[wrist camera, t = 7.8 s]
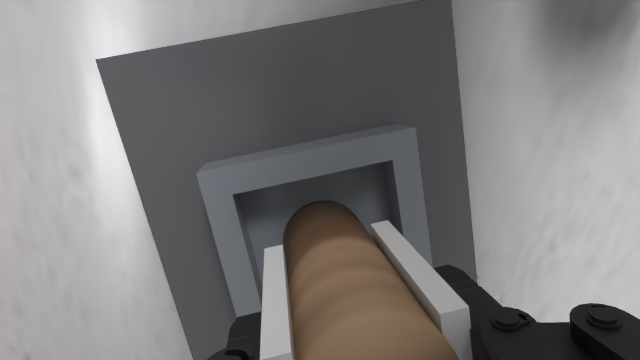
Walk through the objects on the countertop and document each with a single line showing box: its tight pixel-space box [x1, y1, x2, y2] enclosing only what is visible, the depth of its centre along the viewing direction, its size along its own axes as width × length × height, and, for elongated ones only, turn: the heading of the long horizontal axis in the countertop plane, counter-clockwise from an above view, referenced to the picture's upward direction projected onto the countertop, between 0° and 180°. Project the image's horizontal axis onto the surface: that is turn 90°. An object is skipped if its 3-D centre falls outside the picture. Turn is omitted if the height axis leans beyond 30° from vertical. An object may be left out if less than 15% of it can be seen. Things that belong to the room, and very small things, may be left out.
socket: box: [96, 0, 477, 360], centre depth 18 cm, size 20×16×3 cm
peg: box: [283, 200, 459, 360], centre depth 13 cm, size 4×4×10 cm
